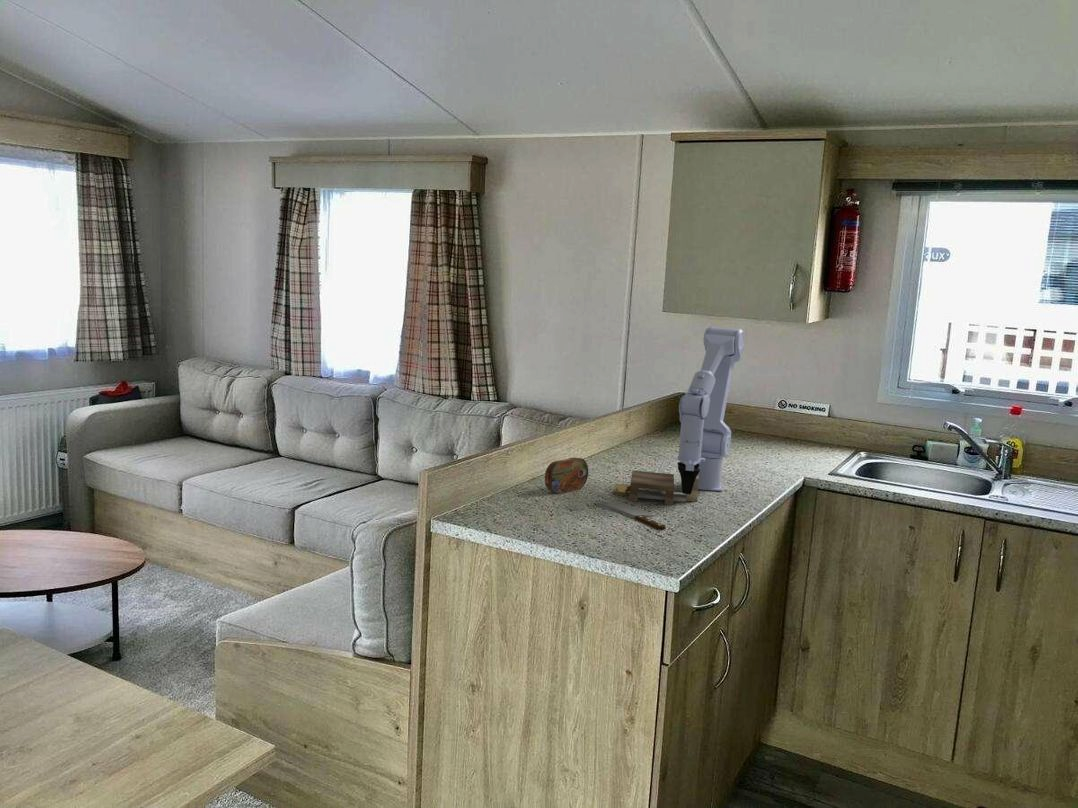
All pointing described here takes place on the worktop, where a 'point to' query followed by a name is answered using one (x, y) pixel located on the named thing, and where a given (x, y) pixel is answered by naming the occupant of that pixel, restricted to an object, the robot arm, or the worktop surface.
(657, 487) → the low shelf
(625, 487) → the brass token
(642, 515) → the kitchen knife
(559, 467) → the tin
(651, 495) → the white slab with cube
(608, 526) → the worktop surface
